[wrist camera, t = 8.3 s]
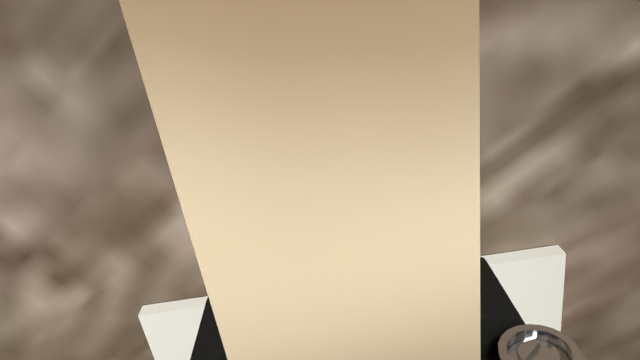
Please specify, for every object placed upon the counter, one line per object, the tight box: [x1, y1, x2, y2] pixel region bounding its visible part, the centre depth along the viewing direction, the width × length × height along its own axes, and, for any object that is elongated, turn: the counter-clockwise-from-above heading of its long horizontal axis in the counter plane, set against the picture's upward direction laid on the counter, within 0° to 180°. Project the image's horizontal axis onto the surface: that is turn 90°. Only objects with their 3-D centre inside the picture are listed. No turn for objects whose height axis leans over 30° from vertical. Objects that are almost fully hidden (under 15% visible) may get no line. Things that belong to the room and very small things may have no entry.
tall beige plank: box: [119, 0, 481, 360], centre depth 10 cm, size 15×8×5 cm, turn 8°
